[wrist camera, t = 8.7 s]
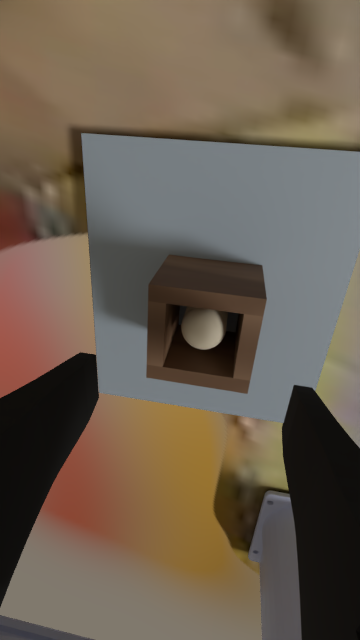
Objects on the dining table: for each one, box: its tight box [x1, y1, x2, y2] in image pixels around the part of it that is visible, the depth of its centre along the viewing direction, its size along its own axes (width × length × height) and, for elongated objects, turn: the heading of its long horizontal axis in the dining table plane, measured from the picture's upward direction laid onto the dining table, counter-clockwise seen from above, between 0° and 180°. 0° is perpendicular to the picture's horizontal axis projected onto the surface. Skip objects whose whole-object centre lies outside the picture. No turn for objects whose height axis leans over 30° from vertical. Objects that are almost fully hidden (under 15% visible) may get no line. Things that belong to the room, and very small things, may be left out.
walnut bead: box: [146, 255, 267, 394], centre depth 17 cm, size 5×5×4 cm
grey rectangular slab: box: [81, 133, 360, 423], centre depth 18 cm, size 16×14×5 cm
